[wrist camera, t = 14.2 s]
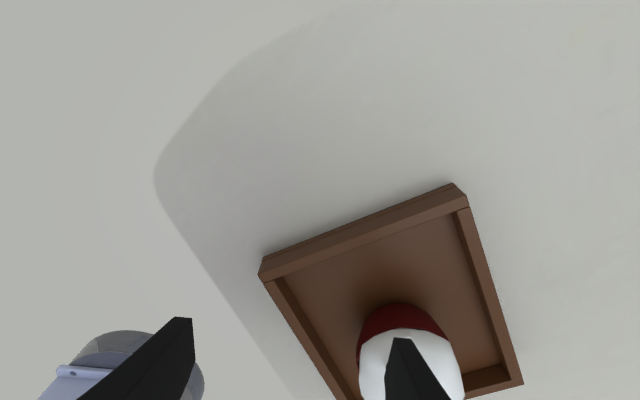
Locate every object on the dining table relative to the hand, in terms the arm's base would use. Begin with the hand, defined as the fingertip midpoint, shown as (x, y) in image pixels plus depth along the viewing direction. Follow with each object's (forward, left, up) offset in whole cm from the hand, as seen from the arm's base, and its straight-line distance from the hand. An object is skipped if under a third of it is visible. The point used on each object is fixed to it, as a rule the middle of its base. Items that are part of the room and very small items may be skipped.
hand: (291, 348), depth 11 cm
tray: (+7, -7, -10) cm, 14 cm away
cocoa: (+7, -7, -10) cm, 14 cm away
